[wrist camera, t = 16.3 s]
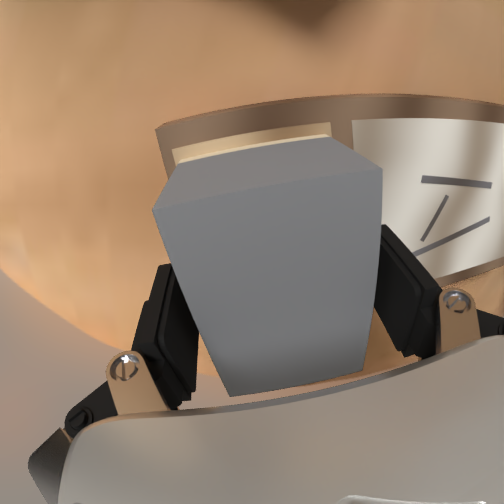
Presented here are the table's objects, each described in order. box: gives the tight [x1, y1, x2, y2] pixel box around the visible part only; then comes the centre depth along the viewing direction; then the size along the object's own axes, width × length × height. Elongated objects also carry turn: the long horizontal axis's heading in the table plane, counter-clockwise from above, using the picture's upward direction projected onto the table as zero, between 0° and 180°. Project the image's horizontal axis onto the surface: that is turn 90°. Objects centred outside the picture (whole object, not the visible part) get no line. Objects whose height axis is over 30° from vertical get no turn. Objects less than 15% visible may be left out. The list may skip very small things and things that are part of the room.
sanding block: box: [152, 134, 383, 397], centre depth 12 cm, size 6×9×5 cm, turn 10°
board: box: [155, 94, 504, 287], centre depth 14 cm, size 22×12×2 cm, turn 100°
